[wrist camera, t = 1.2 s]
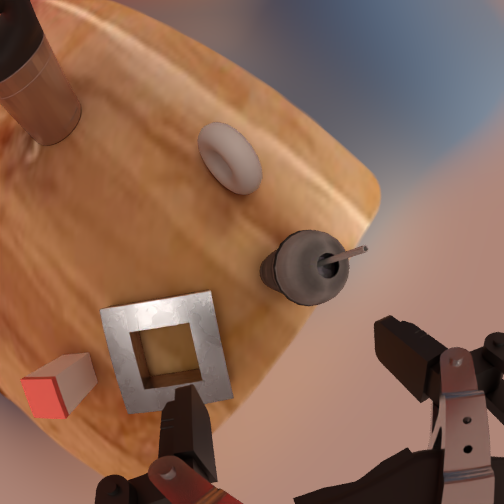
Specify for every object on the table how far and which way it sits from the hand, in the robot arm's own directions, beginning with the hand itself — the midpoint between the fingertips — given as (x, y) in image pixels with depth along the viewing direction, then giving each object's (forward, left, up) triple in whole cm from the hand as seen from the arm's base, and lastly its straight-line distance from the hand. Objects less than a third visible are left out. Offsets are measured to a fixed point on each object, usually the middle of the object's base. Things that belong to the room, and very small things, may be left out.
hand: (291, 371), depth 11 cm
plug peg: (-16, -15, -26) cm, 34 cm away
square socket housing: (-5, -7, -26) cm, 27 cm away
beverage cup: (+5, +7, -26) cm, 28 cm away
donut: (-6, +17, -26) cm, 32 cm away
